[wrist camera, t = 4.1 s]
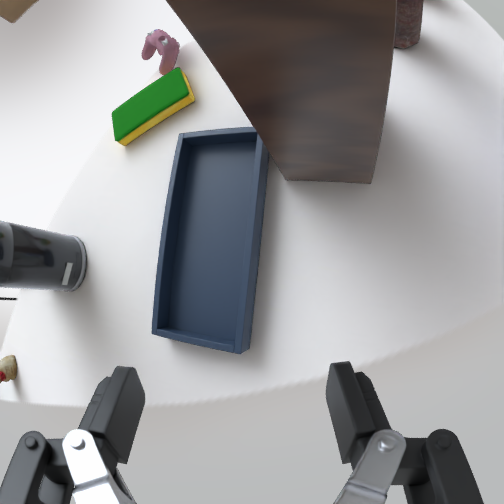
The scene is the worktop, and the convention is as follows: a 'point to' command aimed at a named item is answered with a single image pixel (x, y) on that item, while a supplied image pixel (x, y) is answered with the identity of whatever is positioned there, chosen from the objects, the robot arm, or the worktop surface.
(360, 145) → the stand
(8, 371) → the chocolate bunny
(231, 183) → the tray
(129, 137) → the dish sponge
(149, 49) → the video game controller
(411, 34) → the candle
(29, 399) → the worktop surface
